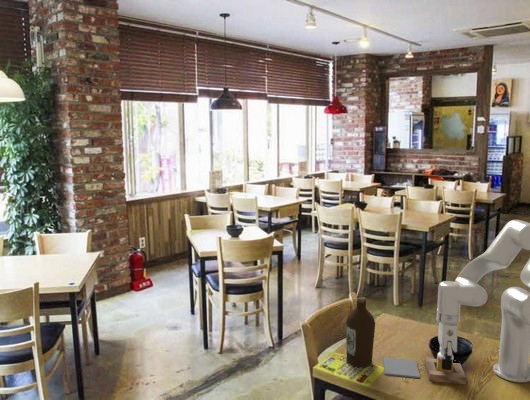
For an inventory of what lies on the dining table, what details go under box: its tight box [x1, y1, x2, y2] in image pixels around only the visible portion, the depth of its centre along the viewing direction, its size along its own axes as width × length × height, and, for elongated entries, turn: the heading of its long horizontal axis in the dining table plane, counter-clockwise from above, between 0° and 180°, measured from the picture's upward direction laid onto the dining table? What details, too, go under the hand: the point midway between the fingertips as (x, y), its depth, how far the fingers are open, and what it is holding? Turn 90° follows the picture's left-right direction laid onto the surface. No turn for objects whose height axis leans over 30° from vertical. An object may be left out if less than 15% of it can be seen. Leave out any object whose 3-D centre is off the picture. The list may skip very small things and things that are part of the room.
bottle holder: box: [424, 357, 467, 385], centre depth 168 cm, size 12×12×2 cm
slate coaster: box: [382, 357, 421, 379], centre depth 172 cm, size 12×12×1 cm
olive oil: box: [345, 296, 376, 368], centre depth 175 cm, size 11×11×25 cm
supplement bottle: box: [436, 346, 454, 373], centre depth 167 cm, size 5×5×10 cm
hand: (444, 364), depth 167 cm, fingers closed on supplement bottle, 5 cm apart
